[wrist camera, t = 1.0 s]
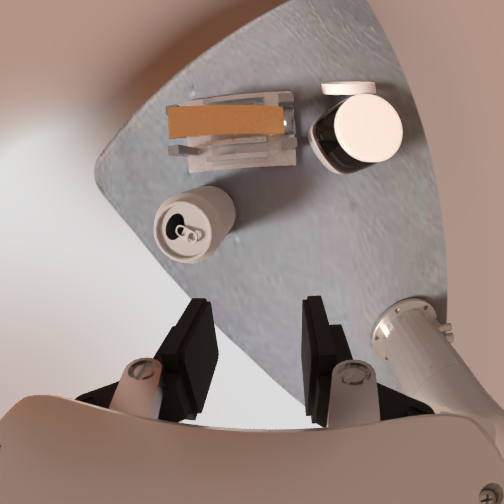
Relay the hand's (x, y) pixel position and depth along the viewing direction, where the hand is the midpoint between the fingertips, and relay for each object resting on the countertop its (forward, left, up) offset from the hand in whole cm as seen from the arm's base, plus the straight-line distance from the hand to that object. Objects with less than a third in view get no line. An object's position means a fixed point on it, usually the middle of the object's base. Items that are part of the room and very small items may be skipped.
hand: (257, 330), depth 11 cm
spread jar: (-10, -12, -28) cm, 32 cm away
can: (+8, -1, -27) cm, 29 cm away
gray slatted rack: (+4, -12, -27) cm, 30 cm away
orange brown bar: (+3, -12, -19) cm, 22 cm away
